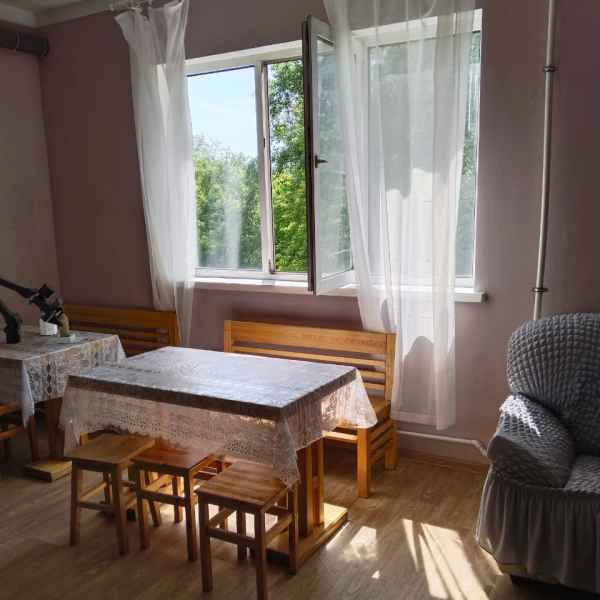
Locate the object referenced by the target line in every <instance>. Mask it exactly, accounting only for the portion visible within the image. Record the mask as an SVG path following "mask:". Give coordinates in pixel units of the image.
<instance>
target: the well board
mask: <svg viewBox="0 0 600 600" xmlns="http://www.w3.org/2000/svg"><path fill="white" fill-rule="evenodd" d="M82 339H83V340H85V339H86V336H76V334H75V333H71V334H70V333H69V337H67V338H60V334H58V335H57V336H55V337H52V338H50V339H49V340H48V341H46V342H44V345H57V344H56V343H70V344H79V343H78V342H80V341H81V340H82ZM83 340H82V341H83ZM82 341H81V342H82ZM81 342H80V343H81Z"/></svg>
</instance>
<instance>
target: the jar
mask: <svg viewBox="0 0 600 600" xmlns="http://www.w3.org/2000/svg"><path fill="white" fill-rule="evenodd" d="M44 315H45V313H44V312H42V313H39V327H40V336H42V335H51V336H54V335H53V334H55V335H57V334H58V333H57V332H58V326H57V325H54V324H51V323H47V322H44V321H43V320H42V317H43V316H44ZM47 321H48V320H47ZM56 333H57V334H56Z"/></svg>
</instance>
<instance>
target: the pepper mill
mask: <svg viewBox="0 0 600 600" xmlns="http://www.w3.org/2000/svg"><path fill="white" fill-rule="evenodd" d="M65 315H66V314H65V313H64V314H61V317H59V319H58V320H59V321H60V322H61V323H62V325H63V326H62V327H60V326H58V328H59V335H60V338H67V337H69V334H70V328H69V323H68V320H69V318H68V317H67V315H66V316H65Z"/></svg>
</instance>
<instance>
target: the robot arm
mask: <svg viewBox="0 0 600 600" xmlns="http://www.w3.org/2000/svg"><path fill="white" fill-rule="evenodd" d="M0 286H1V287H4V288H6V289H9V290H11V291H14V292H16V293H17V294H18V295H19V296H21V297H22V298H24V299H29V300H28V305H29V306H32V305H35V306H36V307H37V308H38V309H39V311H40V312H42V313H45V315H44V316H43V317H42V320H43V321H44V322H47V323H51V324H54V325H57V327H59V326H60V327H62V326H63V325H62V323H61V322H60V321H59V317H61V314H65V306H64V299H62V298H61V297H57V298H55V301H53V302H52V301H48V300H47V299H50V298H51V297H52V296H53V294H54V293H55V292H56V291H57V290H56V288H55V287H54V286H53V285H51V284H49V283H47V282H45V283H43V284H42V286H41V287H40V288H37V287H34V286H33V285H28V284H22V283H18V282H16V281H13V280H11V279H9V278H6V277H4V276H2V275H0ZM31 298H32V299H31ZM0 315H2V317H3V319H4V323H5V324H6V326H4V328H2V330H3V333H4V334H5V340H6V341H5V343H8V344H18V343H20V342H22V335H21V334H22V333H20V329H21V327H22V326H23V324H24V321H23V319H22V318H23V317H22V316H20V314H19V313H18V312H13V311H12V310H10V309H9V307H8V306H7V305H6V304H5V302H3V300H2V299H1V298H0ZM65 316H67V315H66V314H65ZM47 320H48V321H47ZM69 322H70V320H69V319H68V324H69Z"/></svg>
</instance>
